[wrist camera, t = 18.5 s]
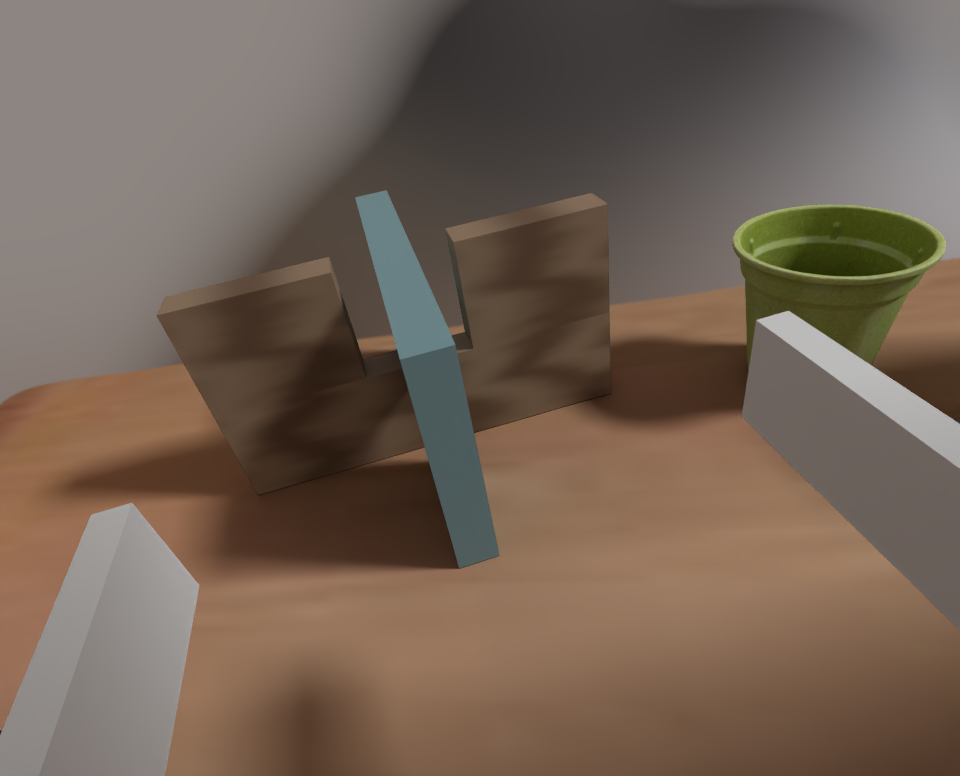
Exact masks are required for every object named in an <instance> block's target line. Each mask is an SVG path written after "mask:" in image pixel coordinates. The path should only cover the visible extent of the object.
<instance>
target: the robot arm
mask: <svg viewBox="0 0 960 776" xmlns="http://www.w3.org/2000/svg"><path fill="white" fill-rule="evenodd" d="M742 418H743V419H744V420H745V421H746V422H747V423H748V424H749V425H750V426H751V427H752V428H753V429H754V430H755V431H756V432H757V433H758V434H760V435H761V436H762V437H763V438H764V439H765V440H766V441H767V442H768V443H769V444H770V445H771V446H772V447H773V448H774V449H775V450H776V451H777V452H778V453H779V454H780V455H781V456H782V457H783V458H784V459H785V460H786V461H787V462H788V463H789V464H790V465H791V466H792V467H793V468H794V469H795V470H796V471H797V472H798V473H799V474H800V475H801V476H802V477H804V478H805V479H806V480H807V481H808V482H809V483H810V484H811V485H812V486H813V487H814V488H815V489H816V490H817V491H818V492H819V493H820V494H821V495H822V496H823V497H824V498H825V499H826V500H827V501H828V502H829V503H830V504H831V505H832V506H833V507H834V508H835V509H836V510H837V511H838V512H839V513H840V514H841V515H842V516H843V517H844V518H845V519H846V520H847V521H849V522H850V523H851V524H852V525H853V526H854V527H855V528H856V529H857V530H858V531H859V532H860V533H861V534H862V535H863V536H864V537H865V538H866V539H867V540H868V541H869V542H870V543H871V544H872V545H873V546H874V547H875V548H876V549H877V550H878V551H879V552H880V553H881V554H882V555H883V556H884V557H885V558H886V559H887V560H888V561H889V562H890V563H891V564H892V565H894V566H895V567H896V568H897V569H898V570H899V571H900V572H901V573H902V574H903V575H904V576H905V577H906V578H907V579H908V580H909V581H910V582H911V583H912V584H913V585H914V586H915V587H916V588H917V589H918V590H919V591H920V592H921V593H922V594H923V595H924V596H925V597H926V598H927V599H928V600H929V601H930V602H931V603H932V604H933V605H934V606H935V607H936V608H937V609H939V610H940V611H941V612H942V613H943V614H944V615H945V616H946V617H947V618H948V619H949V620H950V621H951V622H952V623H953V624H954V625H955V626H956V627H957V628H958V629H959V630H960V418H958V419H955V420H953V419H952V418H950V417H949V416H947V415H946V414H944V413H943V412H941V411H939V410H938V409H936V408H935V407H933V406H932V405H930V404H929V403H927V402H926V401H924V400H923V399H921V398H920V397H918V396H917V395H915V394H914V393H912V392H911V391H909V390H908V389H906V388H905V387H903V386H902V385H900V384H899V383H897V382H896V381H894V380H893V379H891V378H890V377H888V376H887V375H885V374H884V373H882V372H881V371H879V370H878V369H876V368H875V367H873V366H871V365H870V364H868V363H867V362H865V361H864V360H862V359H861V358H859V357H858V356H856V355H855V354H853V353H852V352H850V351H849V350H847V349H846V348H844V347H843V346H841V345H840V344H838V343H837V342H835V341H834V340H832V339H831V338H829V337H828V336H826V335H825V334H823V333H822V332H820V331H819V330H817V329H816V328H814V327H813V326H811V325H810V324H808V323H806V322H805V321H803V320H802V319H800V318H799V317H797V316H796V315H794V314H793V313H791V312H790V311H786V312H782V313H779V314H775V315H772V316H769V317H765V318H762V319H758V320H756V325H755V332H754V338H753V345H752V352H751V358H750V365H749V371H748V378H747V385H746V391H745V398H744V405H743V411H742ZM198 590H199V584H198V583H197V582H196V581H195V579H194V578H193V577H192V576H191V575H190V573H189V572H188V571H187V570H186V568H185V567H184V566H183V565H182V563H181V562H180V561H179V560H178V558H177V557H176V556H175V555H174V554H173V552H172V551H171V550H170V549H169V547H168V546H167V545H166V544H165V542H164V541H163V540H162V539H161V538H160V536H159V535H158V534H157V533H156V531H155V530H154V529H153V528H152V526H151V525H150V524H149V523H148V522H147V520H146V519H145V518H144V517H143V515H142V514H141V513H140V512H139V510H138V509H137V508H136V507H135V506H134V504H133V503H130V504H126V505H123V506H119V507H116V508H113V509H109V510H106V511H102V512H99V513H96V514H92V515H91V516H90V519H89V521H88V524H87V526H86V529H85V531H84V533H83V536H82V538H81V541H80V543H79V546H78V548H77V550H76V553H75V555H74V558H73V560H72V562H71V565H70V567H69V570H68V572H67V575H66V577H65V579H64V582H63V584H62V587H61V589H60V592H59V594H58V596H57V599H56V601H55V604H54V606H53V609H52V611H51V613H50V616H49V618H48V621H47V623H46V626H45V628H44V630H43V633H42V635H41V638H40V640H39V642H38V645H37V647H36V650H35V652H34V655H33V657H32V659H31V662H30V664H29V667H28V669H27V672H26V674H25V676H24V679H23V681H22V684H21V686H20V689H19V691H18V693H17V696H16V698H15V701H14V703H13V706H12V708H11V710H10V713H9V715H8V718H7V720H6V723H5V725H4V727H3V730H2V731H0V776H165V772H166V767H167V761H168V756H169V750H170V745H171V739H172V733H173V728H174V722H175V717H176V711H177V706H178V700H179V695H180V689H181V684H182V678H183V673H184V667H185V662H186V656H187V651H188V645H189V640H190V634H191V629H192V623H193V618H194V612H195V607H196V601H197V595H198Z"/></svg>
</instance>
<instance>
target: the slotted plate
mask: <svg viewBox="0 0 960 776" xmlns="http://www.w3.org/2000/svg"><path fill="white" fill-rule="evenodd" d="M356 202H357V206H358V209H359V213H360V217H361V220H362V224H363V228H364V231H365V235H366V238H367V242H368V245H369V249H370V253H371V257H372V260H373V264H374V267H375V271H376V275H377V278H378V282H379V286H380V289H381V293H382V297H383V300H384V304H385V307H386V311H387V315H388V318H389V322H390V325H391V329H392V333H393V336H394V340H395V344H396V347H397V351H398V355H399V358H400V362H401V365H402V369H403V372H404V376H405V379H406V383H407V386H408V390H409V393H410V397H411V401H412V404H413V408H414V411H415V415H416V418H417V422H418V425H419V429H420V432H421V436H422V439H423V443H424V446H425V450H426V453H427V457H428V460H429V464H430V467H431V471H432V474H433V478H434V481H435V485H436V489H437V492H438V496H439V499H440V503H441V506H442V510H443V513H444V517H445V520H446V524H447V527H448V531H449V534H450V538H451V541H452V545H453V548H454V552H455V555H456V559H457V562H458V566H459V568H462V567H465V566H468V565H471V564H474V563H478V562H481V561H484V560H487V559H490V558H493V557H496V556H499V551H498V546H497V541H496V536H495V532H494V527H493V522H492V517H491V512H490V508H489V503H488V498H487V493H486V488H485V484H484V479H483V474H482V469H481V465H480V460H479V455H478V450H477V445H476V441H475V436H474V431H473V426H472V421H471V417H470V412H469V407H468V402H467V397H466V393H465V388H464V383H463V378H462V373H461V369H460V364H459V359H458V354H457V350H456V345H455V342H454V340H453V338H452V336H451V334H450V331H449V329H448V327H447V325H446V322H445V320H444V318H443V316H442V314H441V311H440V309H439V307H438V305H437V302H436V300H435V298H434V296H433V293H432V291H431V289H430V287H429V285H428V282H427V280H426V278H425V276H424V273H423V271H422V269H421V267H420V265H419V262H418V260H417V258H416V256H415V254H414V251H413V249H412V247H411V245H410V242H409V240H408V238H407V235H406V233H405V231H404V229H403V227H402V224H401V222H400V220H399V218H398V215H397V213H396V211H395V209H394V206H393V204H392V202H391V200H390V198H389V195H388V193H387V191H382V192H378V193H373V194H369V195H365V196H360V197H356Z"/></svg>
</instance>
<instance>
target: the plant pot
mask: <svg viewBox="0 0 960 776" xmlns="http://www.w3.org/2000/svg"><path fill="white" fill-rule="evenodd" d="M733 249H734V251H735V253H736V255H737V256H738V257H739V258H740V264H741V271H742V274H743V276H744V278H745V293H746V325H747V365H748V371H749V365H750V358H751V352H752V345H753V338H754V332H755V325H756V320H758V319H762V318H765V317H769V316H772V315H775V314H779V313H782V312H786V311H790V312H791V313H793V314H794V315H796V316H797V317H799V318H800V319H802V320H803V321H805V322H806V323H808V324H810V325H811V326H813V327H814V328H816V329H817V330H819V331H820V332H822V333H823V334H825V335H826V336H828V337H829V338H831V339H832V340H834V341H835V342H837V343H838V344H840V345H841V346H843V347H844V348H846V349H847V350H849V351H850V352H852V353H853V354H855V355H856V356H858V357H859V358H861V359H862V360H864V361H865V362H867V363H868V364H870V365H872V363H873V361H874V359H875V357H876V355H877V353H878V351H879V349H880V347H881V345H882V343H883V341H884V339H885V337H886V335H887V333H888V331H889V329H890V327H891V326H892V324H893V322H894V320H895V318H896V316H897V314H898V312H899V310H900V308H901V306H902V304H903V302H904V300H905V298H906V297H907V295H908V293H909V292H910V291H911V290H912V289H913V288H914V287H915V286H916V285H917V284H918V283H919V281H920V280H921V278H922V276H923V274H924V273H925V271H927V270H929V269H930V268H932V267H933V266H934V265H936V264H937V263H938V262H939V260H940V259H941V258H942V256H943V253H944V251H945V249H946V242H945V239H944V237H943V235H942V234H941V233H940V232H939V231H938V230H936V229H935V228H933V227H931V226H930V225H928V224H927V223H925V222H923V221H921V220H919V219H917V218H914V217H911V216H908V215H905V214H900V213H897V212H894V211H889V210H885V209H875V208H871V207H865V206H853V205H810V206H801V207H793V208H787V209H782V210H776V211H772V212H769V213H766V214H763V215H760V216H757V217H754V218H752V219H750V220H748V221H747V222H745V223H744V224H743V225H741V226H740V227H739V228H738V229H737V230H736V232H735V234H734V237H733Z"/></svg>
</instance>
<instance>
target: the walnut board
mask: <svg viewBox="0 0 960 776" xmlns="http://www.w3.org/2000/svg"><path fill="white" fill-rule="evenodd" d="M445 230H446V236H447V241H448V246H449V251H450V256H451V261H452V266H453V272H454V276H455V282H456V287H457V292H458V297H459V302H460V308H461V313H462V318H463V323H464V328H465V332H463V333H459V334H456V335H452V338H453V340H454V342H455V345H456V350H457V354H458V359H459V364H460V369H461V373H462V378H463V383H464V388H465V393H466V397H467V402H468V407H469V412H470V417H471V421H472V426H473V431H474V432H478V431H481V430H485V429H488V428H492V427H495V426H499V425H502V424H506V423H509V422H513V421H516V420H520V419H523V418H526V417H530V416H533V415H537V414H540V413H544V412H547V411H551V410H554V409H558V408H561V407H565V406H568V405H571V404H575V403H578V402H582V401H585V400H589V399H592V398H596V397H599V396H603V395H606V394H610V393H611V381H610V314H609V251H608V250H609V248H608V204H607V203H605V202H604V201H603V200H601V199H600V198H598V197H597V196H595V195H594V194H592V193H590V194H586V195H582V196H578V197H574V198H570V199H565V200H561V201H557V202H553V203H549V204H545V205H541V206H537V207H532V208H528V209H525V210H520V211H516V212H512V213H508V214H504V215H499V216H495V217H492V218H487V219H483V220H479V221H475V222H471V223H467V224H462V225H459V226H454V227H450V228H446V229H445ZM157 317H158V319H159V321H160V322H161V324H162V326H163V328H164V330H165V332H166V333H167V335H168V337H169V339H170V340H171V342H172V344H173V346H174V347H175V349H176V351H177V353H178V355H179V356H180V358H181V360H182V362H183V363H184V365H185V367H186V369H187V370H188V372H189V374H190V376H191V378H192V379H193V381H194V383H195V385H196V386H197V388H198V390H199V392H200V394H201V395H202V397H203V399H204V401H205V402H206V404H207V406H208V408H209V409H210V411H211V413H212V415H213V417H214V418H215V420H216V422H217V424H218V425H219V427H220V429H221V431H222V432H223V434H224V436H225V438H226V440H227V441H228V443H229V445H230V447H231V448H232V450H233V452H234V454H235V456H236V457H237V459H238V461H239V463H240V464H241V466H242V468H243V470H244V471H245V473H246V475H247V477H248V479H249V480H250V482H251V484H252V486H253V487H254V489H255V491H256V493H257V494H258V495H260V494H263V493H267V492H270V491H274V490H277V489H281V488H284V487H287V486H291V485H294V484H298V483H301V482H305V481H308V480H312V479H315V478H319V477H322V476H326V475H329V474H333V473H336V472H339V471H343V470H346V469H350V468H353V467H357V466H360V465H364V464H367V463H371V462H374V461H378V460H381V459H384V458H388V457H391V456H395V455H398V454H402V453H405V452H409V451H412V450H416V449H419V448H423V447H425V446H424V443H423V439H422V436H421V432H420V429H419V425H418V422H417V418H416V415H415V411H414V408H413V404H412V401H411V397H410V393H409V390H408V386H407V383H406V379H405V376H404V372H403V369H402V365H401V362H400V358H399V355H398V351H397V350H396V351H392V352H388V353H384V354H381V355H377V356H373V357H369V358H366V359H363V358H362V355H361V352H360V349H359V346H358V343H357V340H356V337H355V334H354V331H353V328H352V325H351V322H350V319H349V316H348V312H347V310H346V306H345V304H344V301H343V297H342V295H341V291H340V288H339V285H338V282H337V279H336V276H335V273H334V271H333V268H332V265H331V261H330V259H329V257H327V258H323V259H319V260H315V261H310V262H307V263H302V264H299V265H294V266H290V267H286V268H282V269H278V270H274V271H269V272H265V273H261V274H257V275H253V276H249V277H245V278H241V279H237V280H232V281H228V282H224V283H220V284H216V285H212V286H208V287H204V288H200V289H195V290H192V291H188V292H183V293H179V294H175V295H171V296H167V297H165V298H164V300H163V303H162V305H161V307H160V309H159V311H158V313H157Z"/></svg>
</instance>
